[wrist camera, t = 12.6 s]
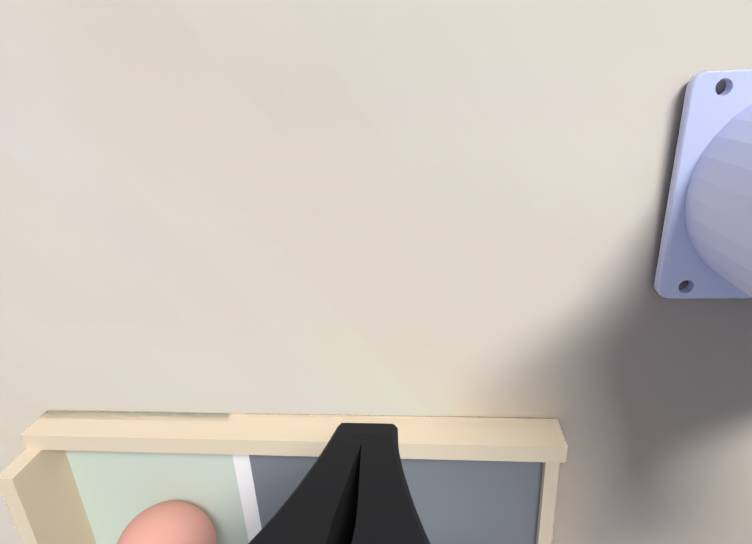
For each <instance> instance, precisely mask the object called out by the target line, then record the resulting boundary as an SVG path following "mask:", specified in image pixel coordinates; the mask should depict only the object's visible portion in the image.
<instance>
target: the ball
mask: <svg viewBox="0 0 752 544" xmlns="http://www.w3.org/2000/svg"><path fill="white" fill-rule="evenodd" d="M117 544H217V535H216V531H215V528H214V526H213V524H212V522H211V520H210V519H209V517H208V516H207V515H206V514H205V513H204V512H203V511H202V510H201V509H199V508H198V507H196V506H194V505H192V504H190V503H187V502H183V501H166V502H162V503H158V504H156V505H153V506H151V507H149V508H147V509H145V510H144V511H142V512H141V513H139V514H138V515H137V516H136V517H135V518H134V519H133V520H132V521H131V522H130V523H129V524H128V525H127V526H126V528H125V529H124V531H123V532H122V534H121V536H120V537H119V539H118V542H117Z"/></svg>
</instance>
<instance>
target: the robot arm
mask: <svg viewBox="0 0 752 544" xmlns="http://www.w3.org/2000/svg"><path fill="white" fill-rule="evenodd" d="M721 79H724V80H725V82H726V88H725V90H724V91H723V92H722V93H721V94H719V95H718V94H717V93H716V91H715V87H716V85H717V83H718V82H719V81H720V80H721ZM686 280H689V283H688V285H687V286H686V287H685V288H683V289H679V285H680V283H682V282H683V281H686ZM654 288H655V290H656V292H657V293H658V294H659V295H661V296H662V297H664V298H668V299H692V298H752V69H739V70H719V71H704V72H700V73H697V74H696V75H694V76H693V77H692V78H691V79H690V81H689V82H688V84H687V87H686V92H685V98H684V104H683V110H682V117H681V123H680V129H679V135H678V141H677V147H676V153H675V159H674V165H673V171H672V178H671V184H670V190H669V196H668V202H667V208H666V214H665V220H664V226H663V232H662V239H661V245H660V251H659V257H658V263H657V269H656V275H655V281H654ZM248 544H430V542H429V540H428V537H427V535H426V533H425V530H424V528H423V526H422V523H421V521H420V518H419V516H418V513H417V511H416V508H415V505H414V503H413V500H412V497H411V494H410V491H409V488H408V484H407V481H406V478H405V475H404V471H403V467H402V463H401V459H400V454H399V445H398V428H397V427H396V426H395V425H394V424H385V423H341V424H340V425H339V426H338V427H337V428H336V430H335V432H334V434H333V435H332V437H331V439H330V440H329V442H328V443H327V445H326V447H325V448H324V450H323V451H322V453H321V454H320V456H319V457H318V459H317V460H316V462H315V463H314V465H313V466H312V467H311V469H310V470H309V471H308V473H307V474H306V476H305V477H304V478H303V480H302V481H301V482H300V484H299V485H298V486H297V488H296V489H295V490H294V492H293V493H292V494H291V495H290V496H289V498H288V499H287V500H286V501H285V503H284V504H283V505H282V506H281V507H280V509H279V510H278V511H277V512H276V514H275V515H274V516H273V517H272V518H271V519H270V521H269V522H268V523H267V524H266V525H265V526H264V527H263V528H262V529H261V530H260V532H259V533H258V534H257V535H256V536H255V537H254V538H253V539H252V540H251V541H250V542H249V543H248Z"/></svg>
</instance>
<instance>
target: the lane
mask: <svg viewBox="0 0 752 544" xmlns="http://www.w3.org/2000/svg"><path fill="white" fill-rule="evenodd" d="M341 423H385V424H394V425H395V426H396V427H397V428H398V445H399V454H400V459H401V463H402V467H403V471H404V475H405V478H406V481H407V484H408V488H409V491H410V494H411V497H412V500H413V503H414V505H415V508H416V511H417V513H418V516H419V518H420V521H421V523H422V526H423V528H424V530H425V533H426V535H427V537H428V540H429V542H430V544H552V535H553V525H554V516H555V506H556V497H557V487H558V478H559V468H560V463H566V461H567V452H568V446H567V443H566V440H565V438H564V435H563V432H562V430H561V427H560V424H559V422H558V419H536V418H474V417H413V416H351V415H289V414H227V413H166V412H104V411H46V412H45V413H44V414H43V415H42V416H41V417H40V418H39V419H38V420H36V421H35V422H34V423H33V424H32V425H31V426H30V427H29V428H28V429H26V430H25V431H24V432H23V433H22V434H21V435H20V436H21V439H22V442H23V444H24V447H25V450H24V451H23V452H22V453H21V454H20V455H19V456H18V457H17V458H16V459H15V460H14V461H13V462H12V463H11V464H10V465H8V466H7V467H6V468H5V469H4V470H3V471H2V472H1V473H0V493H1V495H2V498H3V500H4V503H5V505H6V508H7V510H8V512H9V515H10V517H11V520H12V522H13V525H14V527H15V529H16V532H17V534H18V537H19V539H20V542H21V544H117V542H118V539H119V537H120V536H121V534H122V532H123V531H124V529H125V528H126V526H127V525H128V524H129V523H130V522H131V521H132V520H133V519H134V518H135V517H136V516H137V515H138V514H139V513H141V512H142V511H144V510H145V509H147V508H149V507H151V506H153V505H156V504H158V503H162V502H166V501H183V502H187V503H190V504H192V505H194V506H196V507H198V508H199V509H201V510H202V511H203V512H204V513H205V514H206V515H207V516H208V517H209V519H210V520H211V522H212V524H213V526H214V528H215V531H216V535H217V544H248V543H249V542H250V541H251V540H252V539H253V538H254V537H255V536H256V535H257V534H258V533H259V532H260V530H261V529H262V528H263V527H264V526H265V525H266V524H267V523H268V522H269V521H270V519H271V518H272V517H273V516H274V515H275V514H276V512H277V511H278V510H279V509H280V507H281V506H282V505H283V504H284V503H285V501H286V500H287V499H288V498H289V496H290V495H291V494H292V493H293V492H294V490H295V489H296V488H297V486H298V485H299V484H300V482H301V481H302V480H303V478H304V477H305V476H306V474H307V473H308V471H309V470H310V469H311V467H312V466H313V465H314V463H315V462H316V460H317V459H318V457H319V456H320V454H321V453H322V451H323V450H324V448H325V447H326V445H327V443H328V442H329V440H330V439H331V437H332V435H333V434H334V432H335V430H336V428H337V427H338V426H339V425H340V424H341Z"/></svg>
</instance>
